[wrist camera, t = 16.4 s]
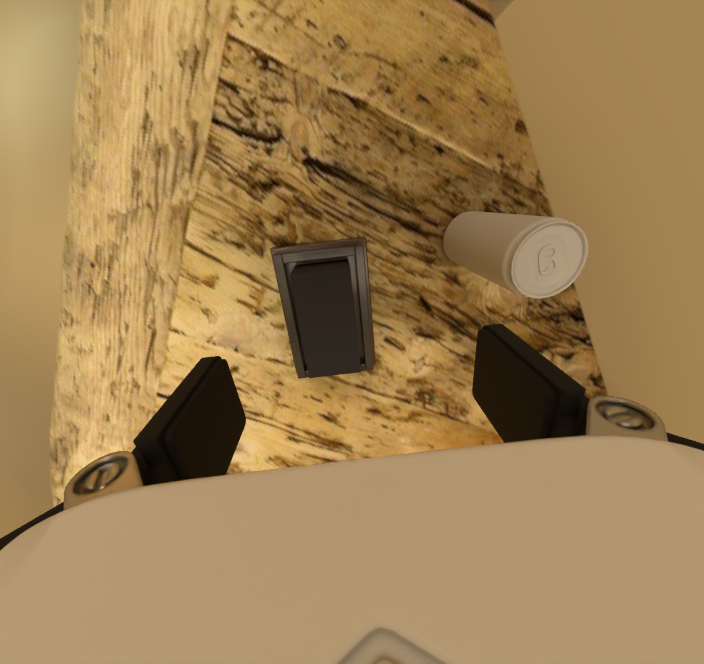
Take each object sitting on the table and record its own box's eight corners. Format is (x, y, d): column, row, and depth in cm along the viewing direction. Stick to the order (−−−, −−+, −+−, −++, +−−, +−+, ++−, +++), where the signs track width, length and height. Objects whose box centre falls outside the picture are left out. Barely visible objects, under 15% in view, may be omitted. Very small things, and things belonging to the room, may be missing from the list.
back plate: (272, 247, 27) (266, 251, 25) (364, 236, 27) (367, 239, 25) (297, 369, 33) (295, 382, 31) (374, 360, 33) (377, 372, 31)
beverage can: (444, 269, 29) (511, 310, 18) (436, 220, 27) (505, 233, 16) (492, 254, 29) (589, 287, 18) (486, 203, 27) (593, 205, 16)
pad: (295, 265, 27) (289, 275, 23) (348, 259, 27) (350, 268, 23) (311, 357, 31) (309, 378, 28) (357, 352, 31) (361, 372, 28)
